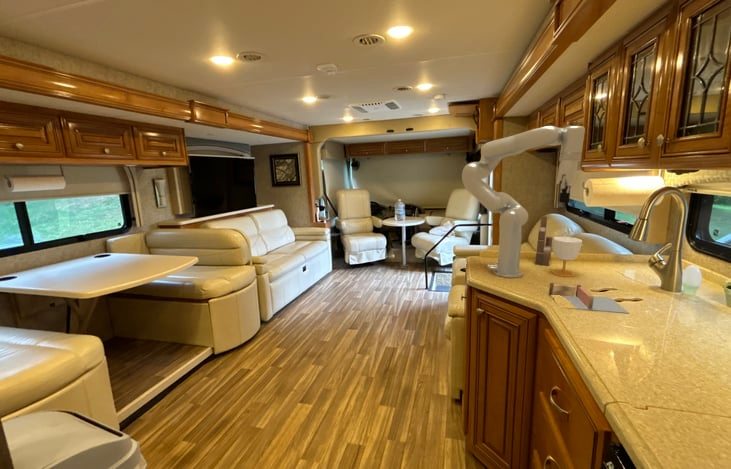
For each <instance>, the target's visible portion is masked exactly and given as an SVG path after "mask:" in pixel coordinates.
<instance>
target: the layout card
mask: <svg viewBox="0 0 731 469" xmlns="http://www.w3.org/2000/svg"><path fill="white" fill-rule="evenodd" d="M562 297H564V298H566V299H567V300H568V301H571V302H570V303H571V304H572V305H574V307H577V309H576V310H580V309H583V311H592V312H593V311H594V312H606V313H617V314H630V312H629V311H628V310H626V308H625V307H623V306H621V305H620V304H619V303H618V302H617V301H616V300H614V299H613V298H612V297H608V296H607V297H606V296H593V297H594V300H593V307H592V308H588V307H587V306H586V305H585V304H584V303H583V302H582V301H581V300H580V299H579V298H578V297H576V294H574V297H572V296H562Z"/></svg>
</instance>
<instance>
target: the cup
mask: <svg viewBox="0 0 731 469" xmlns="http://www.w3.org/2000/svg"><path fill="white" fill-rule="evenodd" d="M582 243H583V240H582V239H579V238H576V237H572V236H571V237H569V236H554V237H553V241H552V251H553V254H554V256H555V257H556V258H557V259H559V260H561V261H562V262H563V264H562V269H561V270H553V271H552V273H553V275H556V276H558V277H564V278H565V277H566V278H573V277H574V276H575V274H574V273H573V272H571V271H567V270H566V265H567V262H570V261H572V260H575V259H577V258H578V256H579V254H580V251H581V248H582Z"/></svg>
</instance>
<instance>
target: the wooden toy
mask: <svg viewBox="0 0 731 469" xmlns="http://www.w3.org/2000/svg"><path fill="white" fill-rule="evenodd" d="M547 222H548V216H547V215H542V216H541V217H540V225H539V227H538V233H537V235H538V236H537V245H536V253H535V260H534V261H535V263H534V265H536V266H537V265H538V266H545V267H550V261H551V258H552V251H553V238H554V237H553V236H546V234H547V226H548V223H547Z"/></svg>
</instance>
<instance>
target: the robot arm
mask: <svg viewBox="0 0 731 469" xmlns="http://www.w3.org/2000/svg"><path fill="white" fill-rule="evenodd" d="M585 132H586V129H585V127H584V126H583V125H569V126H566V127H557V126H555V125H546V126H542V127H537V128H533V129H530V130H526V131H524V132H520V133H517V134H513V135H511V136H506V137H503V138H499V139H493V140H491V141H488V142H486V143H484V144H483V145H482V146H481V150H480V154H481V156H482V157H481V158H480V160H479V161H473V162H469V163H468V164H466V165H465V166H464V167H463V169H462V173H461V179H462V180H461V181H462V185H463V186H464V188H465V189H466V191H468V192H469V193H470V194H471V195H472V196H473V197H474V198H475V199H476V200H477V201H478V202H479V203H480V204H481V205H482V206H484V208H485V209H487V211H489V212H490V213H492V214H493V213H494V214H498V213H499V214H500V217H499V222H498V224H499V226H498V227H499V241H498V253H497V254H498V255H497V262H496V263H495V264H494V263H493V264H486V268H487V269H490V270H493V274H494V275H496V276H498V277H503V278H508V279H516V278H517V279H518V278H520V277H522V276H523V272H522V271H521V270H520V263H521V261H520V260H521V251H522V250H521V249H522V238H523V236H522V226H524V225H526V223H527V222H528V221H529V213H528V210H526V208H524V206H522V205H521V203H519V202H518V201H516V200H515V198H513V197H512V196H511V195H509V193H507V192H502V191H499V192H498V191H496V190H495V189H493V188H492V186H491V185H489V184H488V182H486V181H484V180H483V179H486V178H487V177H489V175H491V173H492V172H493V171H494V170H495V168H496V167H497V166H498V165H499V163H500V162H501V161H502V159H503V158H507V157H509V156H511V157H512V156H515V155H518V154H519V155H520V154H521V153H523V152H525V151H528V150H530V149H535V148H538V147H540V148H541V147H544V146H550V147H551V146H552V147H553V146H554V147H555V146H560V145H561V146H560V152H559V162H560V163H559V166H558V170H557V176H556V182H555V184H556V186H560V193H559V203H563V204H568V203H570V196H571V190H572V186H574V185H575V184H576V180H577V173H578V165H579V164H578V163H579V162H581V160H582V153H583V146H584V138H585Z"/></svg>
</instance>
